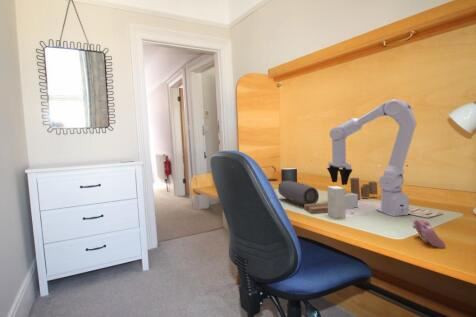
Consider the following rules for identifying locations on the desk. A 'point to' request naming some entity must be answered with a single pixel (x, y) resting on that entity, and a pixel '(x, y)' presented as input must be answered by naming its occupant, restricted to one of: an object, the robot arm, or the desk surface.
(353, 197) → the brick
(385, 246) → the desk surface
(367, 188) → the wooden block set
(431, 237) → the pink lumpy wedge
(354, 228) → the desk surface
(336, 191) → the skincare box
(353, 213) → the cream rectangular panel
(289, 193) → the bluetooth speaker
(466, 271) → the desk surface
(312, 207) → the base slab
